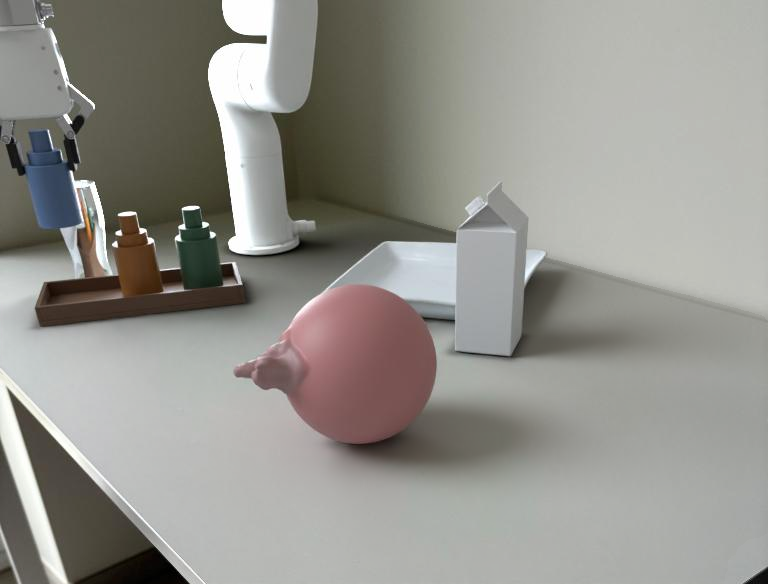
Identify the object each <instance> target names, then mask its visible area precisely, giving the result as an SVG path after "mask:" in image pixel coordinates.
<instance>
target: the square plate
mask: <svg viewBox="0 0 768 584" xmlns="http://www.w3.org/2000/svg"><path fill="white" fill-rule="evenodd" d="M546 257H548V251H547V250H543V249H534V248H533V249H532V248H527V251H526V267H525V283H524V289H526V287H527V284H528V282H529V280H530V279H531V277H532V276H533V274H534V273H535V271H536V270H537V269H538V268H539V266H541V264H542V263H543V261H544V260H545V259H546ZM354 284H361V285H371V286H376V287H379V288H383V289H385V290H388V291H390V292H392V293H394V294H396V295H398V296H399V297H401V298H402V299H404V300H405V301H406V302H408V303H409V304H410V305H411V306H412V307H413V308H414V309H415V310H416V311H417V312H418V313H419V315H420V316H421V317H422V318H427V319H428V318H429V319H439V320H451V321H455V307H456V242H439V241H438V242H437V241H436V242H433V241H394V240H393V241H392V240H390V241H389V240H388V241H387V240H386V241H382V242H381V243H379V244H378V245H377V246H376V247H375V248H372V249H371V251H369V252H368V253H367V254H366V255H364V256H363V257H361V258H360V259H359V260H358V261H357V262H356V263H355V264H353V265H352V266H350V267H349V269H347V270H346V271H345V272H344V273H342V275H340V276H339V277H338V278H337V279H336V280H334V281H333V282H331V284H329V286H328V287H327V288H325V289H324V290H323V291H322V292H321V293H320V294H322V293H324V292H326V291H328V290H330V289H333V288H336V287H340V286H345V285H354Z"/></svg>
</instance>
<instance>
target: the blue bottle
mask: <svg viewBox="0 0 768 584" xmlns="http://www.w3.org/2000/svg"><path fill="white" fill-rule="evenodd" d="M27 134H28V137H29V141H30V146H31V149H30V150H27V151H25V154H26V159H27V162H25V164H23V168H24V171H25V174H24V176H25V178H26V182H27V187H28V190H29V193H30V194H29V195H30V197H31V201H32V205H33V209H34V213H35V217H36V220H37V225H38V227H39V228H41V229H45V230H57V229H58V230H60V228H67V227H72V226H76V225H79V224H81V223H82V222H83V216H82V212H81V208H80V204H79V199H78V195H77V191H76V186H75V182H74V180H75V178H74V173H73V172H72V171H70V168H69V164H68V159H67V158H63V154H62V150H61V148H59V147H54V145H53V141H52V137H51V134H50V129H49V128H35V129H30V130H28V131H27Z"/></svg>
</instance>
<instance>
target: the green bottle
mask: <svg viewBox="0 0 768 584" xmlns="http://www.w3.org/2000/svg"><path fill="white" fill-rule="evenodd" d="M181 212H182V219H183V224H180V225H179V226H178V233H179V234H178V235H176V236H175V237H174V242H175V248H176V253H177V258H178V263H179V268H180V270H181V276H182V281H183V287H184V290H189V289H198V288H207V287H216V286H224V285H223V278H222V271H221V265H220V263H221V258H220V252H219V246H218V239H217V234H216V233H215V232H213V231H211V229H210V224H209V223H208V222H205V221H203V219H202V212H201V207H200V206H198V205H189V206H184V207H182V208H181Z"/></svg>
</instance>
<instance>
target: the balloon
mask: <svg viewBox="0 0 768 584" xmlns="http://www.w3.org/2000/svg"><path fill="white" fill-rule="evenodd" d="M321 293H322V292H321ZM321 293H319V294H318V295H316V296H314V297H313V298H312V299H311V300H309V301H308V302H307V303H306V304H305V305H304V306H303V307H302V308H301V309H300V310H299V311H298V312H297V314H296V315H295V316H294V317H293V319H292V320H291V322H290V324H289V326H288V327H287V329H286V330H284V332H282V334H281V336H280V338H279V341H278V342H277V343H274V344H273V345H271V346H270V347H269V348H268V349H267V350H265V351H263V352H262V353H261V354H260V355H259V356H258V357H257V358H255V359H252V360H248V361H246V362H244V363H242V364H238V365H235V367H234V368H233V370H232V373H233V375H234V376H235V377H236V378H243V379H250V380H252V382H253V384H254V385H256V386H257V387H259V388H260V389H261V390H264V391H269V390H272V389H274V390H275V389H276V390H279V391H281V392H282V393H283V394H284V395H286V398H287V400H288V402H289V404H290V405H291V407H292V409H293V411H295V413H296V414H297V415H298V417H299V418H300V419H301V420H302V421H303V422H304V423H305V424H306V425H307V426H309V427H310V428H311V429H313V430H314V431H315V432H317V433H318V434H320V435H322V436H324V437H326V438H328V439H330V440H333V441H337V442H341V443H344V444H345V443H346V444H356V445H363V444H365V445H366V444H373V443H377V442H381V441H384V440H387V439H389V438H391V437H393V436H396V435H397V434H399V433H400V432H402V431H403V430H405V429H406V428H407V427H409V426H410V425H411V424H412V423H413V422H414V421H415V420H416V419H417V418H418V417H419V415H420V414H421V413H422V412H423V410H424V409H425V407H426V406H427V404H428V403H429V400H430V398H431V395H432V394H433V390H434V387H435V382H436V377H437V369H438V368H437V366H438V363H437V362H438V361H437V350H436V346H435V343H434V342H435V341H434V340H433V336H432V334H431V333H432V332H431V331H430V329H429V327H428V325H427V323H426V321H425V320H424V319H423V317H421V316H420V315H419V313H418V312H417V311H416V310H415V309H414V308H413V307H412V306H411V305H410V304H409V303H408V302H406V301H405V300H404V299H402V298H401V297H399V296H398V295H396V294H394V293H392V292H390V291H388V290H385V289H383V288H379V287H376V286H371V285H361V284H354V285H345V286H340V287H336V288H333V289H330V290H328V291H326V292H324V293H322V294H321Z"/></svg>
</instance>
